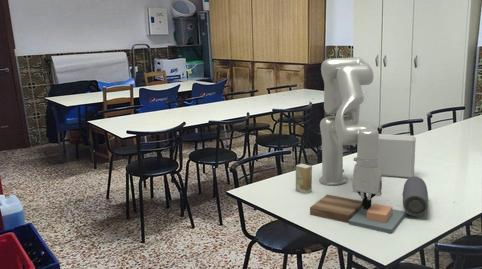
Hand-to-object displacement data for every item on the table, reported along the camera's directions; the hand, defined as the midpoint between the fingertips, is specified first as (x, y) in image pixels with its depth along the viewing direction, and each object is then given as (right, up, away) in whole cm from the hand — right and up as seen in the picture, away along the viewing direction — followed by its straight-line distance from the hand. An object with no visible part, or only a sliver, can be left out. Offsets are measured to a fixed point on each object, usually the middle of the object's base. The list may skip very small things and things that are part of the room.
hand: (366, 208), depth 163 cm
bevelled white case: (+26, +8, +47) cm, 55 cm away
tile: (+4, -1, -3) cm, 5 cm away
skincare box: (-19, +2, +31) cm, 37 cm away
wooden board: (-9, -3, +8) cm, 12 cm away
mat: (+4, -4, -2) cm, 6 cm away
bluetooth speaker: (+21, -1, +8) cm, 23 cm away
